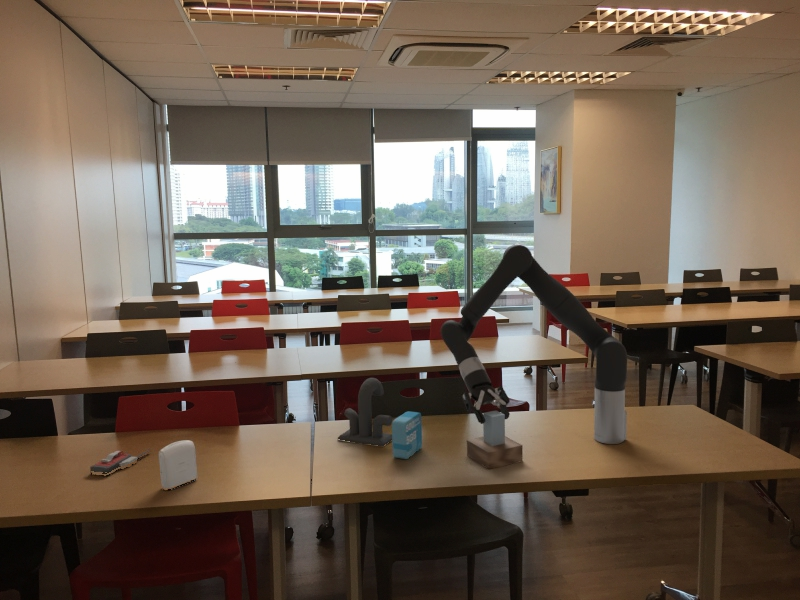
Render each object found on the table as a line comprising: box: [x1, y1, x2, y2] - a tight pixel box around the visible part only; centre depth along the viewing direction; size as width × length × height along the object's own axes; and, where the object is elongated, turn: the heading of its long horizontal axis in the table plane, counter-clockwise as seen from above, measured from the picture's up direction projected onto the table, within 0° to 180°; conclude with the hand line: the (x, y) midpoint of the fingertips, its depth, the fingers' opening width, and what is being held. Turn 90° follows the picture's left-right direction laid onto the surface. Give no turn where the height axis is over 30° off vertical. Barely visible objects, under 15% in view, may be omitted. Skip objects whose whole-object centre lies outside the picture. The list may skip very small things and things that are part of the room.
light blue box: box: [391, 411, 423, 460], centre depth 194 cm, size 12×4×12 cm, turn 153°
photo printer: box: [158, 439, 198, 488], centre depth 176 cm, size 10×4×12 cm, turn 140°
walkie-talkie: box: [89, 448, 151, 474], centre depth 192 cm, size 9×4×20 cm
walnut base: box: [466, 435, 524, 470], centre depth 188 cm, size 12×12×5 cm
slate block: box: [482, 410, 506, 446], centre depth 187 cm, size 5×5×9 cm
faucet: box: [337, 377, 393, 447], centre depth 210 cm, size 18×16×20 cm
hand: (495, 420), depth 186 cm, fingers open, 8 cm apart
